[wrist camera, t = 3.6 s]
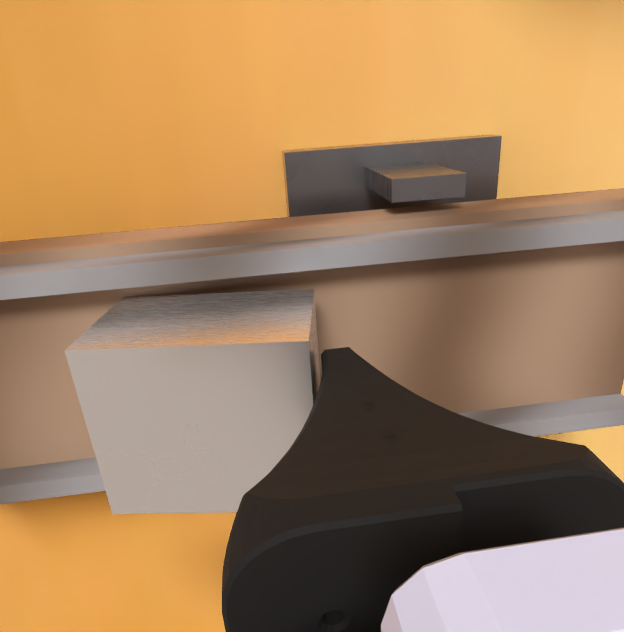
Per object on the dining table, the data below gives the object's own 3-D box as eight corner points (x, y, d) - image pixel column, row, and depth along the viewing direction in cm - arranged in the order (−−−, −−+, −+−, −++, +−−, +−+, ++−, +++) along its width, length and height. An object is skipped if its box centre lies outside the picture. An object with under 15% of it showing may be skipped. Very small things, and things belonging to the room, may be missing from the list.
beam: (624, 188, 15) (727, 209, 12) (587, 392, 18) (661, 456, 14) (-208, 260, 13) (-362, 309, 10) (-101, 476, 16) (-192, 569, 13)
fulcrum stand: (489, 134, 16) (560, 141, 13) (470, 398, 21) (519, 461, 17) (282, 150, 16) (293, 162, 12) (304, 419, 20) (318, 489, 16)
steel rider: (314, 288, 12) (308, 341, 10) (323, 431, 14) (321, 511, 11) (122, 297, 13) (64, 350, 10) (154, 436, 14) (112, 514, 12)
